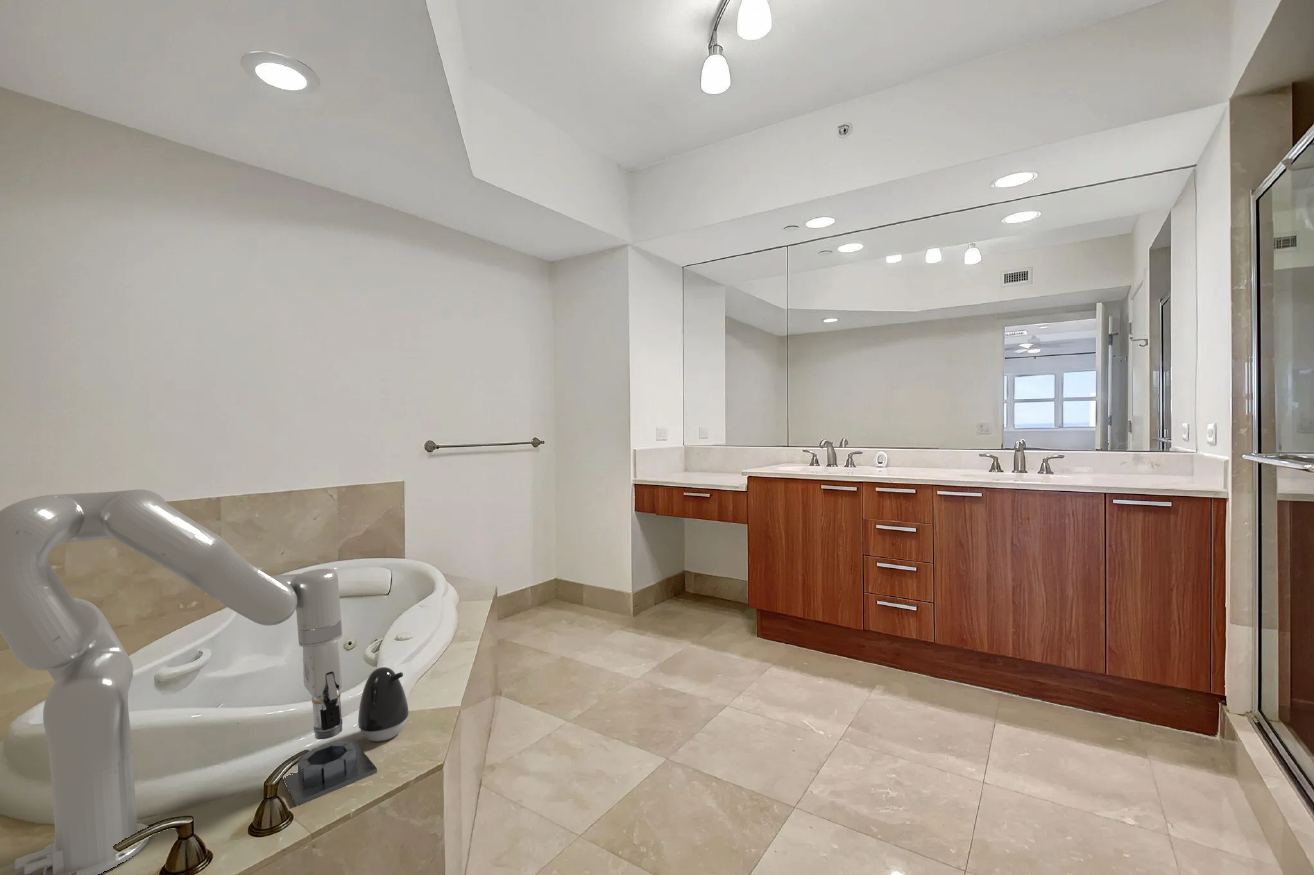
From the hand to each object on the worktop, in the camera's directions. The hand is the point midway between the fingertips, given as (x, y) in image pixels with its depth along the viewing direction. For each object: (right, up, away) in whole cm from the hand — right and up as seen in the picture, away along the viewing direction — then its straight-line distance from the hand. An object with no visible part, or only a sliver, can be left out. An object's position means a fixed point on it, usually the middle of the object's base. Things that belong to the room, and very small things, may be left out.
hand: (327, 721), depth 115 cm
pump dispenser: (+5, -10, +14) cm, 18 cm away
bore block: (0, -10, 0) cm, 10 cm away
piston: (0, -2, 0) cm, 2 cm away
